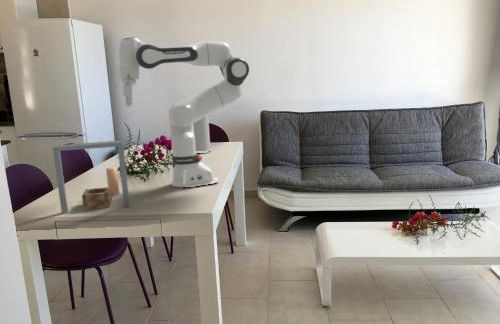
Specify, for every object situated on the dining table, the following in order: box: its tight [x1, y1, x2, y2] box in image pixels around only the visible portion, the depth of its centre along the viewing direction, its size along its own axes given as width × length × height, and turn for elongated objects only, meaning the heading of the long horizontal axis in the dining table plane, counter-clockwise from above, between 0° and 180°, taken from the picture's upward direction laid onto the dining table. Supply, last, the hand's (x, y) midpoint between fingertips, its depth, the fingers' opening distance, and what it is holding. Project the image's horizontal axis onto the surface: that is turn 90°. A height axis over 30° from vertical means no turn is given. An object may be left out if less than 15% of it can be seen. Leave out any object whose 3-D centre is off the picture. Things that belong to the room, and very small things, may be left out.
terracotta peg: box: [105, 166, 120, 196], centre depth 195 cm, size 4×4×12 cm
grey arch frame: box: [52, 140, 131, 214], centre depth 174 cm, size 26×6×26 cm, turn 102°
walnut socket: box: [81, 186, 113, 211], centre depth 180 cm, size 10×10×6 cm
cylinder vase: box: [193, 115, 211, 151], centre depth 288 cm, size 12×12×25 cm
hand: (129, 105), depth 197 cm, fingers open, 8 cm apart
